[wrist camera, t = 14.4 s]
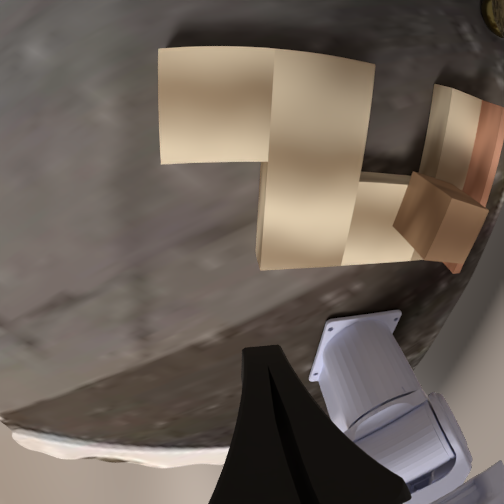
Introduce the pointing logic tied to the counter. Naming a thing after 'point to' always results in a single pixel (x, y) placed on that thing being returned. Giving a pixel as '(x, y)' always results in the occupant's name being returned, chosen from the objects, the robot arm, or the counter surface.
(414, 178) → the walnut cube
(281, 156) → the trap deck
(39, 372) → the counter surface
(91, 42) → the counter surface
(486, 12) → the cup
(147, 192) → the counter surface
